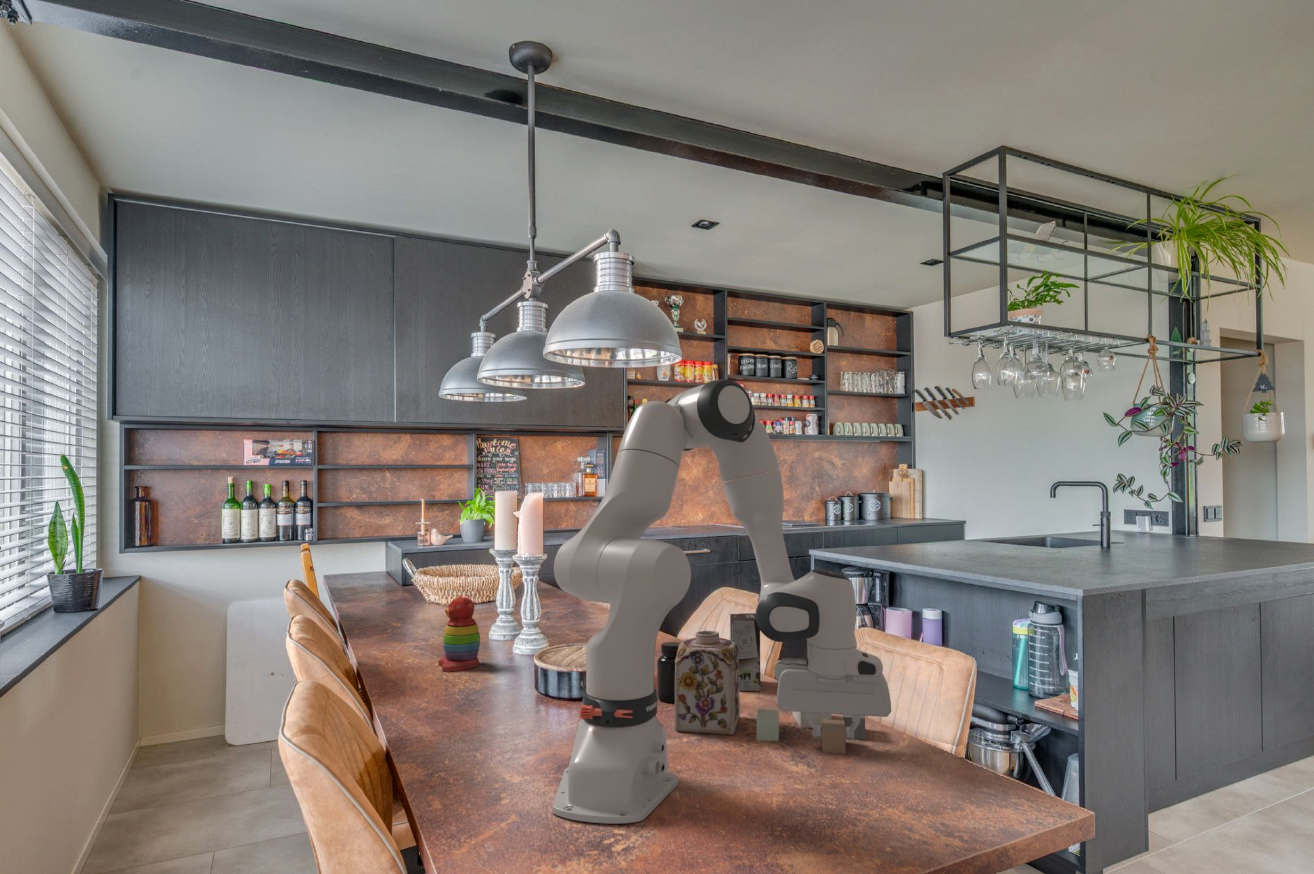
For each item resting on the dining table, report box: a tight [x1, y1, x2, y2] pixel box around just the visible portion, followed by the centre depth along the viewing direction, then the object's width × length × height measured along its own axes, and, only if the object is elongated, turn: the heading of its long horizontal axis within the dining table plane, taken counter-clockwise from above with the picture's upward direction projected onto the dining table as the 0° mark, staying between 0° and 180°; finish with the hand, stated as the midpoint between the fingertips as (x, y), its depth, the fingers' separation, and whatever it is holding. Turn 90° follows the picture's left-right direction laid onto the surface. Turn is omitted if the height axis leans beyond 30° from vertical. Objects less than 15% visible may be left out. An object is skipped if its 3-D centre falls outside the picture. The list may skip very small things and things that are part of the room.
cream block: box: [792, 711, 832, 729], centre depth 149 cm, size 8×6×4 cm
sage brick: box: [755, 708, 780, 742], centre depth 141 cm, size 6×4×4 cm, turn 169°
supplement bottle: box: [656, 641, 681, 704], centre depth 164 cm, size 7×7×12 cm
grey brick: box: [842, 714, 866, 741], centre depth 141 cm, size 6×4×4 cm, turn 165°
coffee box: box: [729, 612, 761, 692], centre depth 174 cm, size 9×6×16 cm
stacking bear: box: [437, 595, 481, 673], centre depth 194 cm, size 11×10×18 cm
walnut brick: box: [821, 719, 847, 755], centre depth 134 cm, size 6×4×4 cm, turn 167°
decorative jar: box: [674, 630, 741, 736], centre depth 148 cm, size 12×12×18 cm
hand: (833, 737), depth 134 cm, fingers open, 4 cm apart
